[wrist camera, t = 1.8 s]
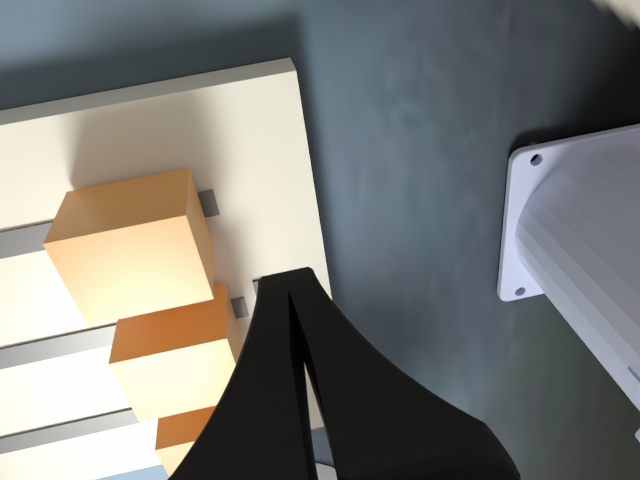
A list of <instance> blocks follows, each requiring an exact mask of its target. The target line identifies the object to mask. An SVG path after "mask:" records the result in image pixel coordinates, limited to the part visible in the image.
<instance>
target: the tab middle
mask: <svg viewBox="0 0 640 480" xmlns="http://www.w3.org/2000/svg"><path fill="white" fill-rule="evenodd" d="M242 347H243V340H242V336H241V333H240V330H239V327H238V323H237V320H236V317H235V314H234V310H233V307H232V304H231V301H230V298H229V294H228V291H227V288H226V285H225V283H223V284H218V285H214V299H212V300H207V301H202V302H198V303H193V304H188V305H184V306H179V307H174V308H169V309H165V310H160V311H155V312H151V313H146V314H141V315H136V316H132V317H127V318H122V319H118V320H117V325H116V329H115V334H114V339H113V343H112V348H111V353H110V357H109V362H108V365H109V367H110V369H111V371H112V373H113V374H114V376H115V378H116V380H117V382H118V384H119V385H120V387H121V389H122V391H123V393H124V395H125V396H126V398H127V400H128V402H129V404H130V406H131V407H132V409H133V411H134V413H135V415H136V417H137V419H138V420H139V422H144V421H148V420H152V419H157V418H161V417H166V416H170V415H175V414H179V413H184V412H188V411H193V410H197V409H201V408H206V407H210V406H215V405H217V404H218V402H219V400H220V398H221V396H222V394H223V392H224V390H225V388H226V386H227V384H228V382H229V380H230V377H231V375H232V373H233V371H234V368H235V366H236V363H237V361H238V358H239V355H240V353H241V350H242Z"/></svg>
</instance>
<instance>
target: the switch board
mask: <svg viewBox="0 0 640 480" xmlns="http://www.w3.org/2000/svg"><path fill="white" fill-rule="evenodd" d="M186 168H190V171H191V174H192V178H193V181H194V184H195V187H196V191H197V194H198V197H199V200H200V204H201V207H202V210H203V213H204V216H205V220H206V223H207V226H208V229H209V233H210V236H211V239H212V242H213V249H214V285H218V284H223V283H225V285H226V288H227V291H228V294H229V298H230V301H231V304H232V307H233V310H234V314H235V317H236V320H237V323H238V327H239V330H240V333H241V336H242V340H243V345H244V342H245V339H246V336H247V333H248V329H249V326H250V322H251V319H252V315H253V311H254V307H255V302H256V297H257V291H258V281H259V279H260V278H261V277H262V276H266V275H271V274H276V273H280V272H285V271H290V270H294V269H299V268H304V267H310V268H312V269H313V270H314V273H315V275H316V277H317V279H318V280H319V282H320V284H321V285H322V287H323V288H324V290H325V291H326V293H327V294H328V296H329V297H330V298H331V300H332V296H331V290H330V283H329V277H328V271H327V264H326V258H325V251H324V245H323V239H322V232H321V226H320V219H319V213H318V207H317V200H316V194H315V187H314V181H313V175H312V168H311V162H310V155H309V149H308V143H307V136H306V130H305V123H304V117H303V111H302V104H301V98H300V91H299V85H298V79H297V72H296V69H295V67H294V64H293V62H292V60H291V58H290V57H289V58H284V59H278V60H273V61H268V62H262V63H257V64H251V65H246V66H240V67H235V68H229V69H224V70H219V71H213V72H208V73H202V74H197V75H191V76H186V77H180V78H175V79H170V80H164V81H159V82H153V83H148V84H142V85H137V86H131V87H126V88H121V89H115V90H110V91H104V92H99V93H93V94H88V95H82V96H77V97H72V98H66V99H61V100H55V101H50V102H44V103H39V104H33V105H28V106H22V107H17V108H12V109H6V110H1V111H0V480H94V479H98V478H103V477H107V476H111V475H116V474H120V473H124V472H129V471H133V470H137V469H142V468H146V467H150V466H155V465H159V464H162V463H161V461H160V459H159V457H158V455H157V453H156V452H155V444H156V433H157V423H158V418H157V419H152V420H148V421H144V422H139V420H138V419H137V417H136V415H135V413H134V411H133V409H132V407H131V406H130V404H129V402H128V400H127V398H126V396H125V395H124V393H123V391H122V389H121V387H120V385H119V384H118V382H117V380H116V378H115V376H114V374H113V373H112V371H111V369H110V367H109V365H108V362H109V357H110V353H111V348H112V343H113V339H114V334H115V329H116V325H117V320H118V319H117V320H113V321H108V322H103V323H99V324H94V325H89V326H87V325H86V323H85V321H84V319H83V317H82V316H81V314H80V312H79V310H78V308H77V306H76V304H75V303H74V301H73V299H72V297H71V295H70V293H69V292H68V290H67V288H66V286H65V284H64V282H63V281H62V279H61V277H60V275H59V273H58V271H57V270H56V268H55V266H54V264H53V262H52V260H51V259H50V257H49V255H48V253H47V251H46V249H45V247H44V246H43V242H44V240H45V238H46V236H47V233H48V231H49V229H50V227H51V225H52V223H53V220H54V218H55V216H56V214H57V212H58V210H59V207H60V205H61V203H62V201H63V199H64V197H65V195H66V192H68V191H73V190H78V189H83V188H88V187H94V186H99V185H104V184H109V183H114V182H119V181H124V180H129V179H135V178H140V177H145V176H150V175H155V174H160V173H165V172H171V171H176V170H181V169H186ZM304 365H305V363H304ZM305 375H306V385H307V395H308V406H309V416H310V427H311V429H315V428H320V427H324V424H323V421H322V418H321V415H320V411H319V408H318V405H317V402H316V399H315V395H314V392H313V389H312V386H311V383H310V379H309V376H308V373H307V370H306V366H305Z"/></svg>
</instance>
